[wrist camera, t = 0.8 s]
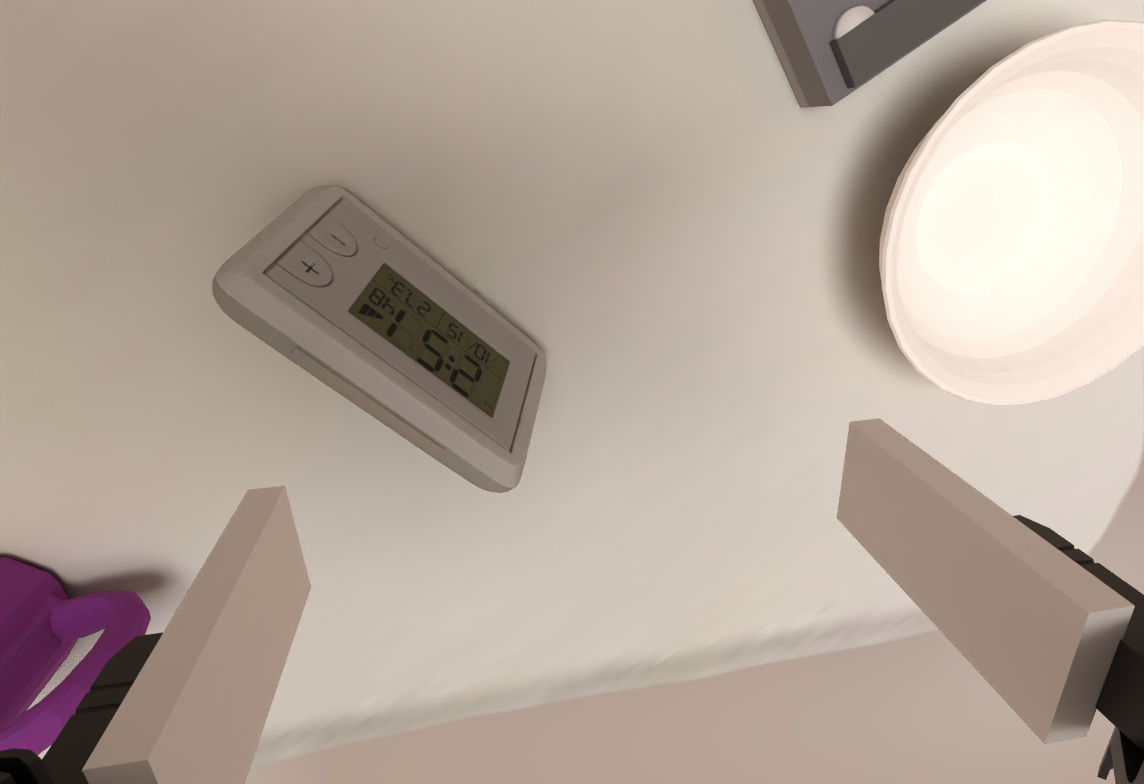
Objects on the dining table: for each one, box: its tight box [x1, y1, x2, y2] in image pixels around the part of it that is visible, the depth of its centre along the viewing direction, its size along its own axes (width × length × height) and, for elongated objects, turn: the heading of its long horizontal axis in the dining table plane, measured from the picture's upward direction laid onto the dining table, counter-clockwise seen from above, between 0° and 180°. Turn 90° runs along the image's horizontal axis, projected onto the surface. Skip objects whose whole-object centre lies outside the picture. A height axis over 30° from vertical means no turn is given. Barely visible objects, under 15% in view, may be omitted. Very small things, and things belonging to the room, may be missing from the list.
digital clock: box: [213, 186, 546, 493], centre depth 33 cm, size 16×9×11 cm, turn 36°
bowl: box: [879, 20, 1144, 405], centre depth 37 cm, size 20×20×6 cm
